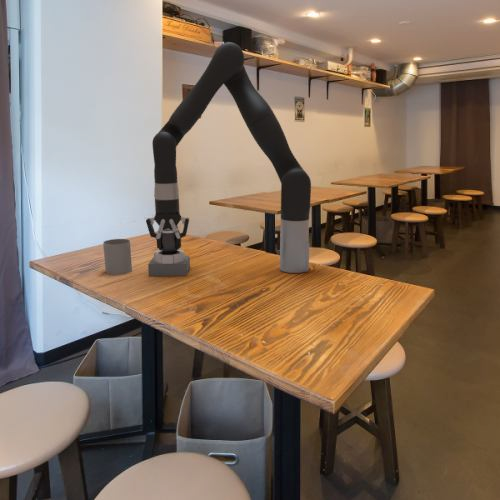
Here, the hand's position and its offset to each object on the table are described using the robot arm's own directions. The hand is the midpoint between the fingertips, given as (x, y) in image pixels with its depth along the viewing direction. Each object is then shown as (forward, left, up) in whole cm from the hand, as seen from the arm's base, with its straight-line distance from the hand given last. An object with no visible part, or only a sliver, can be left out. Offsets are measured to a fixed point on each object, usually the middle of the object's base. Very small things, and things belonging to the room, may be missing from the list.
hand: (169, 249), depth 140 cm
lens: (0, 0, -2) cm, 2 cm away
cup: (+17, -1, -8) cm, 19 cm away
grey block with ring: (0, 0, -8) cm, 8 cm away
